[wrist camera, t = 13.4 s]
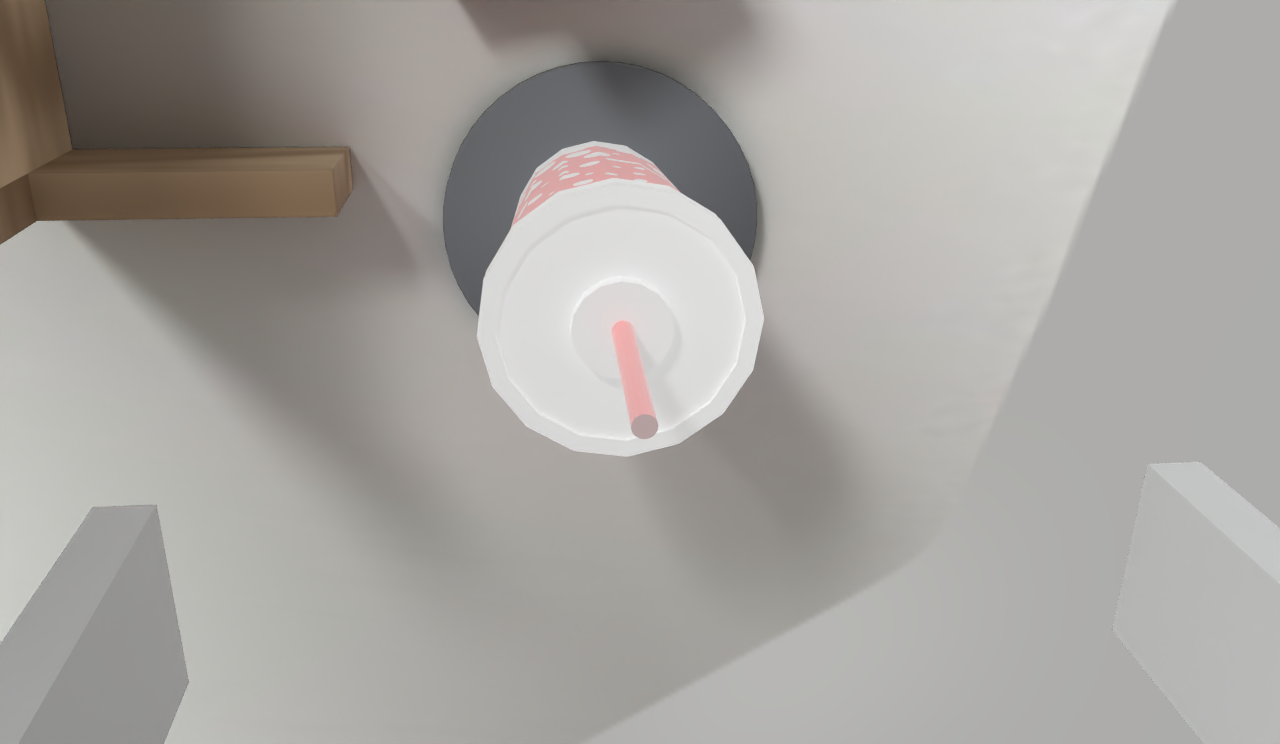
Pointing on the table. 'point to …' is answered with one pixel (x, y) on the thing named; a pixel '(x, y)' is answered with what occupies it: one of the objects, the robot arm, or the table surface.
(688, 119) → the coaster
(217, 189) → the rack
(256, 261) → the table surface
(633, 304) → the beverage cup
